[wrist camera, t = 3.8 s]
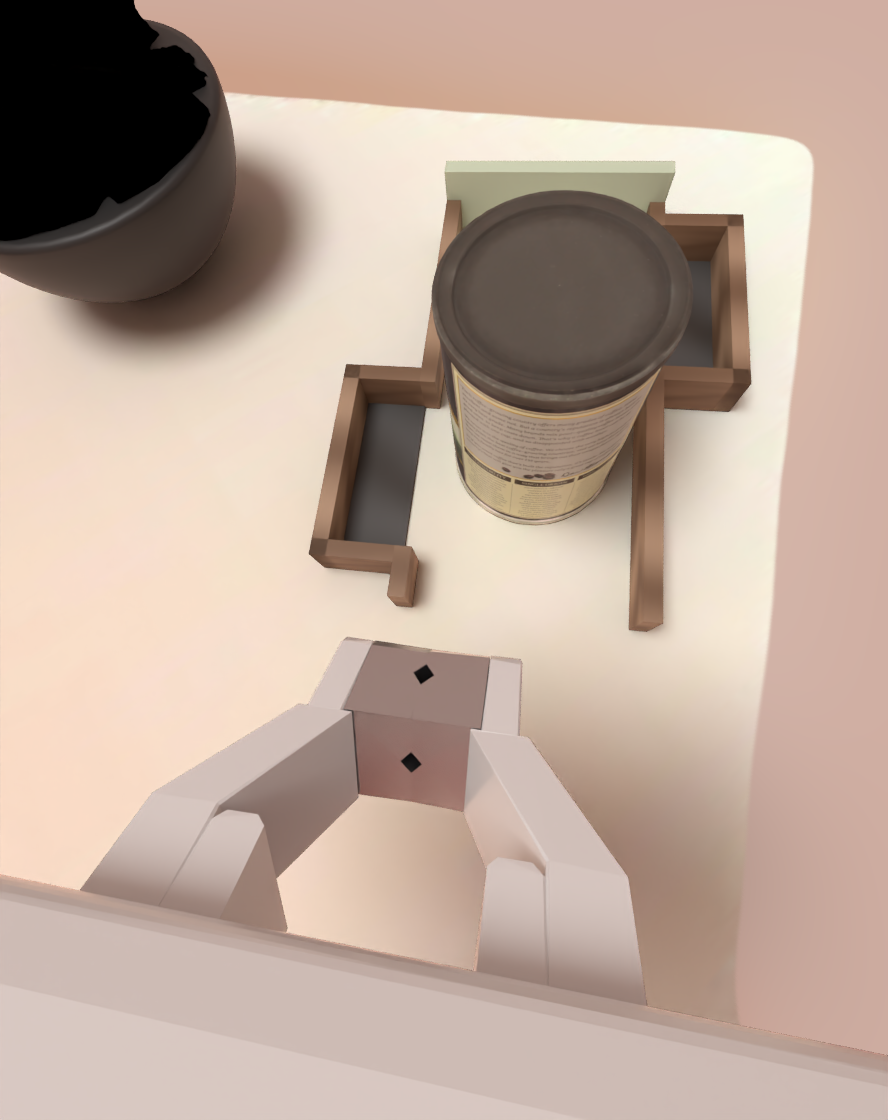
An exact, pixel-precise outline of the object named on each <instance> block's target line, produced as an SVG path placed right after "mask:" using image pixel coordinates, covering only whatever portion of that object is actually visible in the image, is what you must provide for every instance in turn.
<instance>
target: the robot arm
mask: <svg viewBox="0 0 888 1120" xmlns="http://www.w3.org/2000/svg"><path fill="white" fill-rule="evenodd" d="M489 663H490V666H489ZM488 674H489V675H488ZM521 685H522V661H521V659H514V658H505V657H496V656H491V659H490V657H489V656H481V655H473V654H465V653H457V652H449V651H441V650H432V649H427V648H420V647H413V646H407V645H400V644H394V643H387V642H381V641H371V640H364V639H358V638H351V637H346V638H345V639H344V640H343V641H342V642H341V643H340V645H339V647H338V648H337V650H336V652H335V654H334V656H333V658H332V660H331V662H330V663H329V665H328V667H327V669H326V671H325V673H324V675H323V677H322V679H321V680H320V682H319V684H318V686H317V688H316V690H315V692H314V694H313V695H312V697H311V699H310V701H309V703H308V705H304V704H297V705H296V706H294V707H292V708H291V709H289V710H287V711H286V712H284V713H283V714H281V715H279V716H278V717H276V718H274V719H273V720H271V721H269V722H268V723H266V724H264V725H263V726H261V727H259V728H258V729H256V730H255V731H253V732H251V733H250V734H248V735H246V736H245V737H243V738H241V739H240V740H238V741H236V742H235V743H233V744H231V745H230V746H228V747H227V748H225V749H223V750H222V751H220V752H218V753H217V754H215V755H213V756H212V757H210V758H208V759H207V760H205V761H203V762H202V763H200V764H199V765H197V766H195V767H194V768H192V769H190V770H189V771H187V772H185V773H184V774H182V775H180V776H179V777H177V778H175V779H174V780H172V781H171V782H169V783H167V784H166V785H164V786H162V787H161V788H159V789H157V790H156V791H154V792H152V794H151V795H150V796H149V798H148V799H147V800H146V802H145V803H144V804H143V806H142V807H141V808H140V810H139V811H138V812H137V814H136V815H135V816H134V818H133V819H132V821H131V822H130V823H129V825H128V826H127V827H126V829H125V830H124V831H123V833H122V834H121V835H120V837H119V838H118V839H117V841H116V842H115V843H114V845H113V846H112V847H111V849H110V850H109V852H108V853H107V854H106V856H105V857H104V858H103V860H102V861H101V862H100V864H99V865H98V866H97V868H96V869H95V870H94V872H93V873H92V874H91V876H90V877H89V879H88V880H87V881H86V883H85V884H84V885H83V887H82V888H81V889H80V890H75V889H70V888H65V887H60V886H55V885H50V884H46V883H41V882H36V881H31V880H26V879H21V878H16V877H11V876H6V875H1V874H0V1120H888V1055H884V1054H879V1053H874V1052H869V1051H863V1050H859V1049H854V1048H849V1047H844V1046H839V1045H834V1044H829V1043H825V1042H819V1041H815V1040H810V1039H805V1038H800V1037H795V1036H790V1035H785V1034H780V1033H775V1032H771V1031H766V1030H760V1029H756V1028H751V1027H746V1026H741V1025H736V1024H731V1023H727V1022H722V1021H717V1020H712V1019H707V1018H702V1017H697V1016H692V1015H687V1014H683V1013H678V1012H673V1011H668V1010H663V1009H658V1008H653V1007H648V1006H647V1001H646V994H645V988H644V981H643V974H642V968H641V961H640V954H639V947H638V941H637V934H636V927H635V920H634V914H633V907H632V900H631V893H630V887H629V880H628V877H627V875H626V874H625V872H624V871H623V869H622V868H621V867H620V865H619V864H618V862H617V861H616V860H615V858H614V857H613V855H612V854H611V852H610V851H609V850H608V848H607V847H606V845H605V844H604V843H603V841H602V840H601V838H600V837H599V835H598V834H597V833H596V831H595V830H594V828H593V827H592V826H591V824H590V823H589V821H588V820H587V819H586V817H585V816H584V814H583V813H582V811H581V810H580V809H579V807H578V806H577V804H576V803H575V802H574V800H573V799H572V797H571V796H570V794H569V793H568V792H567V790H566V789H565V787H564V786H563V785H562V783H561V782H560V780H559V779H558V778H557V776H556V775H555V773H554V772H553V770H552V769H551V768H550V766H549V765H548V763H547V762H546V761H545V759H544V758H543V756H542V755H541V753H540V752H539V751H538V749H537V748H536V746H535V745H534V744H533V742H532V741H531V739H530V738H528V737H522V736H520V712H521ZM358 794H361V795H368V796H375V797H383V798H390V799H397V800H405V801H412V802H417V803H422V804H427V805H432V806H437V807H442V808H447V809H453V810H458V811H463V812H464V817H465V819H466V821H467V824H468V826H469V829H470V831H471V834H472V836H473V838H474V841H475V843H476V846H477V848H478V851H479V853H480V855H481V858H482V860H483V863H484V865H485V867H486V878H485V885H484V893H483V900H482V908H481V915H480V922H479V930H478V937H477V945H476V952H475V960H474V968H473V971H472V970H468V969H463V968H458V967H453V966H448V965H443V964H438V963H433V962H428V961H424V960H419V959H414V958H409V957H404V956H399V955H394V954H389V953H385V952H380V951H375V950H370V949H365V948H360V947H355V946H350V945H345V944H340V943H335V942H330V941H326V940H321V939H316V938H311V937H306V936H301V935H296V934H291V933H286V931H287V923H286V919H285V915H284V910H283V906H282V901H281V897H280V893H279V888H278V884H277V880H276V878H277V877H279V876H280V875H281V874H282V873H283V872H284V871H285V870H286V869H287V868H288V867H289V866H290V865H291V864H292V863H293V862H294V861H295V860H296V859H297V858H298V857H299V856H300V855H301V854H302V853H303V852H304V851H305V850H306V849H307V848H308V847H309V846H310V845H311V844H312V843H313V842H314V841H315V840H316V839H317V838H318V837H319V836H320V835H321V834H322V833H323V832H324V831H325V830H326V829H327V828H328V827H329V826H330V825H331V824H332V823H333V822H334V821H335V820H336V819H337V818H338V817H339V816H340V815H341V814H342V813H343V812H344V811H345V810H346V809H347V808H348V807H349V806H350V805H351V804H352V803H353V802H354V801H355V800H356V799H358Z"/></svg>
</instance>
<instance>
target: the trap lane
mask: <svg viewBox="0 0 888 1120" xmlns="http://www.w3.org/2000/svg"><path fill="white" fill-rule="evenodd" d="M647 214H649V215H650V216H651V217H653V218H654V219H655V220H656V221H658V222H659V223H660V224H661V225H662V226H663V227H664V228H665V229H666V230H667V231H668V232H669V233H670V234H671V235H672V236H673V237H674V239H675V240H676V242H677V243H678V244H679V246H680V248H681V249H682V251H683V253H684V255H685V257H686V259H687V262H688V265H689V268H690V271H691V277H692V284H693V303H692V309H691V315H690V318H689V322H688V325H687V327H686V329H685V332H684V334H683V336H682V338H681V340H680V342H679V344H678V345H677V347H676V349H675V350H674V352H673V354H672V355H671V356H670V358H669V359H668V360H667V361H666V363H665V364H664V365H663V367H662V369H661V371H660V373H659V376H658V378H657V380H656V381H655V383H654V385H653V388H652V390H651V392H650V394H649V395H648V397H647V399H646V402H645V404H644V405H643V407H642V409H641V411H640V413H639V415H638V417H637V419H636V421H635V423H634V430H633V473H632V517H631V561H630V604H629V630H636V631H646V632H647V631H649V630H651V629H653V628H655V627H657V626H659V625H661V624H663V523H664V408H672V409H690V410H709V411H727V412H729V411H730V409H731V408H732V407H733V406H734V405H735V403H736V402H737V401H738V400H739V398H740V397H741V396H742V395H743V393H744V392H745V391H746V390H747V388H748V387H749V386H750V385H751V369H750V348H749V327H748V305H747V284H746V263H745V242H744V220H743V215H736V214H665V202H650V203H649V207H648V210H647ZM462 230H463V225H462V208H461V200H447V204H446V211H445V218H444V224H443V231H442V237H441V244H440V250H439V257H438V264H439V262H440V260H441V258H442V256H443V255H444V253H445V251H446V249H447V248H448V246H449V245H450V243H451V242H452V241H453V239H454V238H455V237H456V236H457V235H458V234H459V233H460V232H461V231H462ZM438 264H437V266H438ZM443 380H444V367H443V360H442V353H441V346H440V340H439V337H438V335H437V332H436V328H435V323H434V319H433V311H432V303H431V310H430V316H429V323H428V329H427V336H426V342H425V349H424V356H423V362H422V368H415V367H394V366H373V365H353V364H346V368H345V373H344V378H343V384H342V389H341V394H340V399H339V404H338V409H337V414H336V419H335V424H334V429H333V434H332V439H331V444H330V449H329V454H328V459H327V464H326V469H325V474H324V479H323V484H322V489H321V495H320V500H319V505H318V510H317V515H316V520H315V525H314V530H313V535H312V540H311V545H310V550H309V555H311V556H312V557H313V558H314V559H315V560H317V561H318V562H319V563H320V564H321V565H322V566H324V567H326V568H337V569H347V570H357V571H368V572H378V573H389V574H390V579H389V586H388V592H387V596H388V597H389V598H390V599H391V601H392V602H393V603H394V604H395V605H396V606H403V607H412V605H413V597H414V590H415V583H416V576H417V568H418V559H417V557H416V555H415V553H414V551H413V549H412V547H410V546H405V543H406V536H407V529H408V522H409V516H410V509H411V502H412V495H413V488H414V481H415V475H416V468H417V461H418V454H419V447H420V440H421V434H422V427H423V420H424V413H425V408H439V409H440V402H441V394H442V387H443Z"/></svg>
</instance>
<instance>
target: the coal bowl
mask: <svg viewBox="0 0 888 1120" xmlns="http://www.w3.org/2000/svg"><path fill="white" fill-rule="evenodd" d="M235 182H236V155H235V146H234V137H233V130H232V125H231V120H230V115H229V111H228V107H227V104H226V100H225V96H224V93H223V90H222V87H221V84H220V81H219V79H218V76H217V74H216V71H215V69H214V67H213V65H212V63H211V62H210V60H209V59H208V57H207V56H206V54H205V53H204V52H203V51H202V49H201V48H200V47H199V46H198V45H197V44H196V43H195V42H193V40H192V39H190V38H189V37H187V36H186V35H185V34H183V33H181V32H179V31H178V30H176V29H174V28H172V27H169V26H166V25H164V24H161V23H158V22H154V21H150V20H144V19H143V18H142V17H141V16H140V15H139V13H138V11H137V10H136V8H135V5H134V0H0V273H3V274H5V275H7V276H9V277H11V278H13V279H15V280H17V281H19V282H22V283H24V284H26V285H29V286H31V287H34V288H37V289H39V290H42V291H45V292H48V293H51V294H55V295H59V296H62V297H66V298H71V299H76V300H83V301H90V302H107V303H119V302H129V301H136V300H141V299H146V298H150V297H153V296H156V295H159V294H162V293H164V292H166V291H168V290H171V289H173V288H174V287H176V286H178V285H180V284H181V283H183V282H184V281H186V280H187V279H188V278H190V277H191V276H192V275H193V274H195V273H196V272H197V271H198V270H199V269H200V268H201V267H202V266H203V265H204V264H205V262H206V261H207V260H208V259H209V257H210V256H211V254H212V253H213V252H214V250H215V248H216V247H217V245H218V244H219V242H220V240H221V238H222V236H223V233H224V231H225V228H226V226H227V223H228V220H229V217H230V213H231V209H232V205H233V199H234V193H235Z"/></svg>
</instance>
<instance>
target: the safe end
mask: <svg viewBox="0 0 888 1120" xmlns="http://www.w3.org/2000/svg"><path fill="white" fill-rule="evenodd" d="M674 175H675V161H446V167H445V182H446V194H447V200H461V208H462V225H463V229H464V228H465V227H466V226H467V225H468V224H469V223H470V222H472V221H473V220H474V219H475V218H477V217H478V216H480V215H482V214H483V213H485V212H486V211H487V210H489V209H491V208H493V207H495V206H497V205H499V204H501V203H504V202H506V201H509V200H511V199H514V198H517V197H520V196H524V195H527V194H532V193H537V192H543V191H553V190H575V191H587V192H593V193H598V194H603V195H607V196H611V197H615V198H617V199H620V200H623V201H625V202H627V203H630V204H632V205H634V206H636V207H637V208H639V209H641V210H643V211H644V212H646V213H647V210H648V207H649V203H650V202H665V201H666V198H667V195H668V192H669V189H670V186H671V183H672V180H673V178H674Z"/></svg>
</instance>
